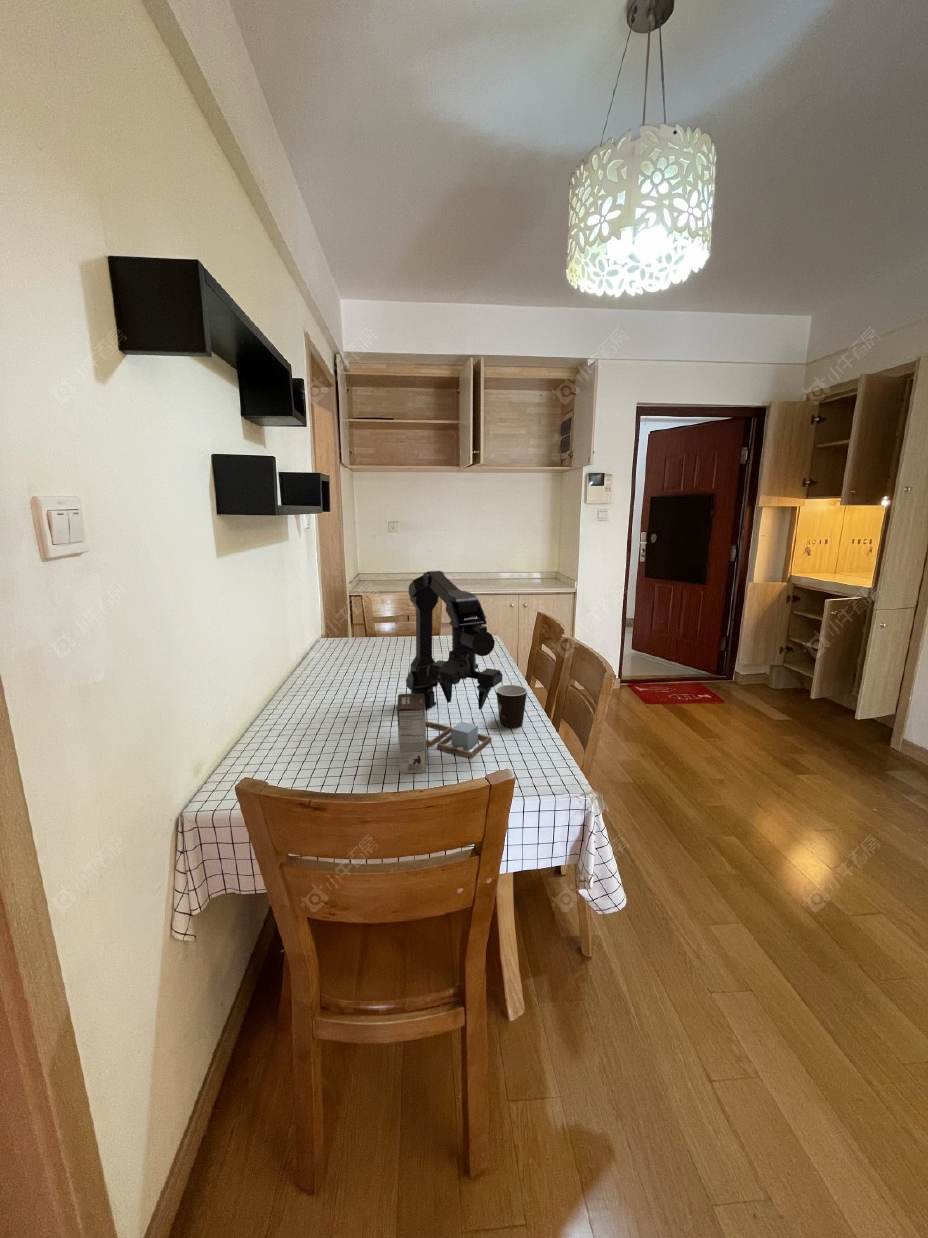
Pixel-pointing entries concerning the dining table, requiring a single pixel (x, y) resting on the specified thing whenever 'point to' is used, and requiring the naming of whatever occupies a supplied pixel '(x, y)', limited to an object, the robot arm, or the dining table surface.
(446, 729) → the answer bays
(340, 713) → the dining table surface
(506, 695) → the coffee mug
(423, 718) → the coffee box
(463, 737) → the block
